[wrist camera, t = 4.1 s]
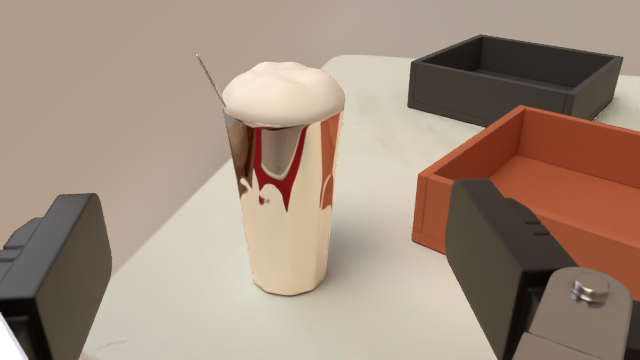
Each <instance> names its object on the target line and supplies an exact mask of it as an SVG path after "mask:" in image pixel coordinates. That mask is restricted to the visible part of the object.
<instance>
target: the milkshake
mask: <svg viewBox="0 0 640 360" xmlns="http://www.w3.org/2000/svg"><path fill="white" fill-rule="evenodd" d="M195 55H196V57H197V59H198V60H199V62H200V64H201V65H202V67H203V69H204V71H205V73H206V75H207V76H208V78H209V80H210V81H211V84H212V85H213V87H214V89H215V91H216V92H217V94H218V96H219V98H220V99H221V101H222V106H223V112H224V117H225V122H226V127H227V133H228V138H229V142H230V148H231V154H232V159H233V164H234V169H235V174H236V179H237V185H238V191H239V197H240V203H241V210H242V216H243V223H244V229H245V235H246V242H247V248H248V255H249V261H250V267H251V274H252V279H253V281H254V282H255V283H256V284H258V285H259V286H260V287H261V288H263V289H264V290H265V291H266V292H268V293H275V294H282V295H288V296H292V295H295V294H299V293H303V292H306V291H310V290H313V289H314V288H315V287H316V286H317V285H318V284H319V283H320V282H321V281H322V280H323V279H324V278H325V275H326V267H327V257H328V246H329V236H330V226H331V215H332V205H333V195H334V184H335V175H336V167H337V159H338V152H339V144H340V136H341V129H342V121H343V113H344V104H345V94H344V91H343V90H342V88H341V86H340V85H339V84H338V83H337V82H336V80H335V79H334V78H332V77H331V76H329V75H328V74H327V73H325V72H324V71H322V70H320V69H316V68H309V67H306V66H304V65H301V64H299V63H296V62H285V63H273V62H263V63H260V64H258V65H257V66H255V67H254V68H252V69H251V70H250V71H248V72H246V73H243V74H241V75H239V76H237V77H236V78H234V79H233V80H232V81H231V82H230V83H229V84H228V86H227V87H226V88H225V90H224V92H223V95H222V97H221V95H220V93H219V92H218V90H217V88H216V86H215V84H214V83H213V81H212V79H211V77H210V75H209V74H208V72H207V70H206V69H205V67H204V65H203V63H202V61H201V59H200V58H199V56H198V54H197V53H196V52H195Z"/></svg>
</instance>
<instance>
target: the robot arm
mask: <svg viewBox="0 0 640 360" xmlns="http://www.w3.org/2000/svg"><path fill="white" fill-rule="evenodd" d="M445 251H446V256H447V260H448V262H449V265H450V267H451V269H452V270H453V272H454V274H455V276H456V278H457V280H458V282H459V284H460V286H461V288H462V290H463V292H464V294H465V296H466V298H467V300H468V302H469V304H470V306H471V308H472V310H473V312H474V314H475V316H476V318H477V320H478V322H479V324H480V326H481V328H482V330H483V332H484V333H485V335H486V337H487V339H488V341H489V343H490V345H491V347H492V349H493V351H494V353H495V355H496V357H497V359H498V360H640V301H637V300H633V297H632V295H631V293H630V291H629V290H628V289H627V288H626V287H625V286H624V285H623V284H622V283H621V282H619V281H618V280H616V279H615V278H613V277H611V276H609V275H607V274H605V273H603V272H600V271H597V270H593V269H589V268H584V267H579V266H578V264H577V263H576V262H575V261H574V260H573V259H572V257H571V256H570V255H569V254H568V253H567V252H566V250H565V249H564V248H563V247H562V246H561V245H560V243H559V242H558V241H557V240H556V239H555V237H554V236H553V235H550V232H549V230H548V229H547V228H546V227H545V226H544V225H543V224H541V221H540V220H539V219H538V218H537V216H536V215H535V214H534V213H533V212H532V211H531V209H530V208H528V207H526V206H525V205H523V204H521V203H520V202H518V201H516V200H515V199H513V198H504V197H503V195H502V194H501V193H500V192H499V190H498V189H497V188H496V187H495V185H494V184H493V183H492V182H491V180H490V179H488V178H472V179H456V180H454V182H453V184H452V187H451V194H450V201H449V209H448V217H447V224H446V232H445ZM111 270H112V256H111V250H110V245H109V240H108V235H107V231H106V225H105V221H104V216H103V212H102V207H101V202H100V199H99V197H98V195H97V194H95V193H87V194H62V195H59V196H57V198H56V199H55V201H54V202H53V204H52V205H51V207H50V208H49V210H48V211H47V212H46V214H45V216H44V217H42V218H33V219H32V220H30V221H29V222H27V223H26V224H24V225H23V226H22V227H20V228H19V229H17V230H16V231H14V233H13V234H12V235H11V237H10V238H9V240H8V241H7V242H6V244H5V245H4V246H3V250H1V251H0V360H78V359H79V357H80V354H81V352H82V349H83V347H84V344H85V342H86V339H87V336H88V334H89V331H90V329H91V326H92V324H93V321H94V319H95V316H96V314H97V311H98V308H99V306H100V303H101V301H102V298H103V296H104V293H105V291H106V288H107V285H108V283H109V280H110V277H111Z"/></svg>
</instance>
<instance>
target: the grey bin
mask: <svg viewBox="0 0 640 360" xmlns="http://www.w3.org/2000/svg"><path fill="white" fill-rule="evenodd" d="M622 61H623V57H620V56H614V55H608V54H601V53H595V52H588V51H582V50H576V49H569V48H563V47H557V46H550V45H544V44H538V43H531V42H525V41H519V40H512V39H506V38H499V37H493V36H487V35H478V36H475V37H472V38H470V39H468V40H465V41H462V42H460V43H457V44H455V45H452V46H450V47H448V48H445V49H442V50H440V51H437V52H435V53H432V54H430V55H427V56H425V57H422V58H420V59H417V60H414V61H412V62H411V68H410V81H409V93H408V105H407V107H411V108H414V109H418V110H422V111H426V112H430V113H434V114H438V115H442V116H446V117H449V118H453V119H457V120H461V121H465V122H469V123H473V124H477V125H481V126H484V127H488V126H490V125H491V124H493V123H494V122H496V121H497V120H499V119H500V118H502V117H503V116H505V115H506V114H508V113H509V112H511V111H512V110H513V109H515V108H516V107H518V106H519V105H523V106H527V107H532V108H536V109H541V110H545V111H549V112H554V113H558V114H563V115H567V116H572V117H576V118H581V119H585V120H589V121H591V120H592V119H593V118H594V117H595V116H596V115H597V114H598V113H599V112H600V111H601V110H603V109H604V108H605V107H606V106H607V105H608V104H609V103H610V102H611V101H612V99H613V95H614V91H615V88H616V84H617V80H618V76H619V72H620V69H621V65H622Z"/></svg>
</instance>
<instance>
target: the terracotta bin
mask: <svg viewBox="0 0 640 360" xmlns="http://www.w3.org/2000/svg"><path fill="white" fill-rule="evenodd" d="M472 178H488V179H490V180H491V182H492V183H493V184H494V185H495V187H496V188H497V189H498V190H499V192H500V193H501V194H502V195H503V197H504V198H513V199H515V200H516V201H518V202H520V203H521V204H523V205H525V206H526V207H528V208H530V209H531V211H532V212H533V213H534V214H535V215H536V216H537V218H538V219H539V220H540V221H541V224H543V225H544V226H545V227H546V228H547V229H548V230H549V232H550V235H553V236H554V237H555V239H556V240H557V241H558V242H559V243H560V245H561V246H562V247H563V248H564V249H565V250H566V252H567V253H568V254H569V255H570V256H571V257H572V259H573V260H574V261H575V262H576V263H577V264H578V266H579V267H584V268H589V269H593V270H597V271H600V272H603V273H605V274H607V275H609V276H611V277H613V278H615V279H616V280H618V281H619V282H621V283H622V284H623V285H624V286H625V287H626V288H627V289H628V290H629V291H630V293H631V295H632V297H633V300H637V301H640V132H638V131H634V130H629V129H625V128H621V127H616V126H612V125H607V124H603V123H598V122H594V121H589V120H585V119H581V118H576V117H572V116H567V115H563V114H558V113H554V112H549V111H545V110H541V109H536V108H532V107H527V106H523V105H519V106H518V107H516V108H515V109H513V110H512V111H511V112H509V113H508V114H506V115H505V116H503V117H502V118H500V119H499V120H497V121H496V122H494V123H493V124H491V125H490V126H488V127H487V128H485V129H484V130H482V131H481V132H480V133H478V134H477V135H475V136H474V137H472V138H471V139H469V140H468V141H466V142H465V143H463V144H462V145H460V146H459V147H457V148H456V149H454V150H453V151H452V152H450V153H449V154H447V155H446V156H444V157H443V158H441V159H440V160H438V161H437V162H435V163H434V164H432V165H431V166H429V167H428V168H426V169H425V170H424V171H422V172H421V173H419V174H418V181H417V191H416V201H415V211H414V221H413V231H412V241H415V242H417V243H419V244H422V245H424V246H427V247H429V248H431V249H434V250H436V251H439V252H441V253H444V254H446V251H445V232H446V224H447V217H448V209H449V201H450V194H451V187H452V184H453V182H454V180H456V179H472Z"/></svg>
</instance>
